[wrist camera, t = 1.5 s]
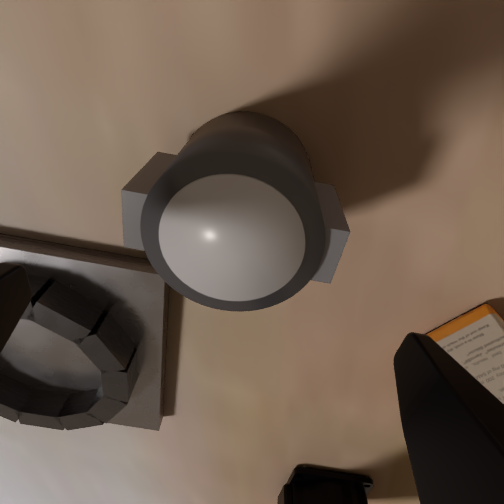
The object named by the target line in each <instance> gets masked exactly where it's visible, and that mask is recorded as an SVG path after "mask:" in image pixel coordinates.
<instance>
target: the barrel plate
mask: <svg viewBox="0 0 504 504" xmlns="http://www.w3.org/2000/svg"><path fill="white" fill-rule="evenodd" d="M2 262H9V263H14V264H20V265H23V266H24V267H25V268H26V271H27V274H28V279H29V283H30V287H31V291H32V297H31V301H30V303H29V305H28V307H27V308H26V310H25V312H24V314H23V315H22V317H21V319H20V321H19V322H18V324H17V326H16V328H15V329H14V331H13V333H12V335H11V336H10V338H9V340H8V342H7V343H6V345H5V347H4V348H3V350H2V352H1V354H0V416H2V417H4V418H6V419H9V420H11V421H14V422H16V421H17V420H18V419H19V422H20V424H26V425H33V426H39V427H46V428H52V429H59V430H64V428H66V429H67V430H72V429H79V428H85V427H91V426H97V425H103V424H104V422H105V423H112V424H119V425H125V426H132V427H138V428H144V429H151V430H157V431H159V429H160V425H161V422H162V419H163V404H164V383H165V362H166V342H167V321H168V300H169V285H168V284H167V283H166V282H165V281H164V280H163V279H162V278H161V277H160V276H159V275H158V273H157V272H156V270H155V269H154V268H153V266H152V265H151V263H150V261H149V260H147V259H142V258H136V257H130V256H124V255H119V254H113V253H107V252H102V251H96V250H90V249H85V248H79V247H73V246H68V245H62V244H56V243H51V242H45V241H39V240H34V239H28V238H22V237H17V236H11V235H5V234H0V263H2Z"/></svg>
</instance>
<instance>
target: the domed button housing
mask: <svg viewBox="0 0 504 504" xmlns="http://www.w3.org/2000/svg"><path fill="white" fill-rule="evenodd" d="M121 193H122V215H123V237H124V247H127V248H133V249H138V250H144V251H145V252H146V255H147V257H148V259H149V261H150V263H151V265H152V266H153V268H154V269H155V270H156V272H157V273H158V275H159V276H160V277H161V278H162V279H163V280H164V281H165V282H166V283H167V284H168V285H169V286H170V287H172V288H173V289H174V290H176V291H177V292H178V293H180V294H181V295H183V296H185V297H186V298H188V299H190V300H192V301H194V302H197V303H199V304H201V305H204V306H208V307H211V308H215V309H220V310H227V311H253V310H259V309H264V308H267V307H271V306H274V305H276V304H278V303H281V302H283V301H285V300H287V299H288V298H290V297H292V296H293V295H295V294H296V293H297V292H299V291H300V290H301V289H302V288H303V287H304V286H305V285H306V284H307V283H308V282H309V281H310V280H313V281H319V282H324V283H331V281H332V278H333V275H334V273H335V270H336V268H337V265H338V263H339V260H340V257H341V255H342V252H343V250H344V247H345V244H346V242H347V239H348V237H349V234H350V230H349V227H348V224H347V221H346V218H345V215H344V213H343V210H342V207H341V204H340V201H339V198H338V195H337V193H336V190H335V187H334V185H331V184H326V183H320V182H315V181H314V177H313V173H312V169H311V165H310V160H309V158H308V155H307V152H306V150H305V148H304V146H303V144H302V143H301V141H300V140H299V139H298V137H297V136H296V135H295V134H294V133H293V132H292V131H291V130H290V129H289V128H288V127H286V126H285V125H284V124H282V123H281V122H279V121H277V120H276V119H274V118H271V117H269V116H267V115H263V114H259V113H254V112H233V113H227V114H224V115H221V116H218V117H216V118H214V119H212V120H210V121H208V122H207V123H205V124H204V125H203V126H201V127H200V128H199V129H198V130H197V131H196V132H195V133H194V135H193V136H192V137H191V138H190V139H189V141H188V142H187V143H186V145H185V146H184V147H183V148H182V150H181V151H180V152H179V153H178V155H173V154H167V153H162V152H157V153H156V154H155V155H154V156H153V157H152V158H151V159H150V160H149V162H148V163H147V164H146V165H145V166H144V167H143V168H142V169H141V170H140V171H139V172H138V173H137V174H136V175H135V176H134V177H133V178H132V179H131V180H130V181H129V182H128V183H127V184H126V186H125V187H124V188H123V189H122V190H121Z"/></svg>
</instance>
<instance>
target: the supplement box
mask: <svg viewBox="0 0 504 504" xmlns="http://www.w3.org/2000/svg"><path fill="white" fill-rule="evenodd" d="M426 335H428V336H429V337H431V338H432V339H433V340H434V341H435V342H436V343H437V344H438V345H439V346H441V347H442V348H443V349H444V350H445V351H446V352H447V353H448V354H449V355H450V356H452V357H453V358H454V359H455V360H456V361H457V362H458V363H459V364H460V365H461V366H462V367H464V368H465V369H466V370H467V371H468V372H469V373H470V374H471V375H472V376H473V377H474V378H476V379H477V380H478V381H479V382H480V383H481V384H482V385H483V386H484V387H485V388H487V389H488V390H489V391H490V392H491V393H492V394H493V395H494V396H495V397H496V398H497V399H499V400H500V401H501V402H502V403H503V404H504V320H503V319H502V318H501V317H500V316H499V315H498V313H497V312H496V311H495V310H494V309H493V308H492V307H491V306H490V305H488V304H484V305H482V306H480V307H478V308H476V309H474V310H472V311H469V312H468V313H466V314H464V315H461V316H459V317H458V318H456V319H454V320H452V321H450V322H449V323H447V324H444V325H442V326H441V327H439V328H437V329H435V330H434V331H432V332H430V333H428V334H426Z"/></svg>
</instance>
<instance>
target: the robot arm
mask: <svg viewBox="0 0 504 504" xmlns="http://www.w3.org/2000/svg"><path fill="white" fill-rule="evenodd" d="M31 297H32V291H31V287H30V283H29V279H28V274H27V271H26V268H25V267H24V266H23V265H20V264H14V263H9V262H2V263H0V354H1V352H2V350H3V348H4V347H5V345H6V343H7V342H8V340H9V338H10V336H11V335H12V333H13V331H14V329H15V328H16V326H17V324H18V322H19V321H20V319H21V317H22V315H23V314H24V312H25V310H26V308H27V307H28V305H29V303H30V301H31ZM394 371H395V378H396V386H397V393H398V401H399V409H400V416H401V422H402V428H403V432H404V437H405V441H406V445H407V450H408V454H409V458H410V462H411V466H412V470H413V475H414V479H415V483H416V487H417V491H418V495H419V500H420V504H504V404H503V403H502V402H501V401H500V400H499V399H497V398H496V397H495V396H494V395H493V394H492V393H491V392H490V391H489V390H488V389H487V388H485V387H484V386H483V385H482V384H481V383H480V382H479V381H478V380H477V379H476V378H474V377H473V376H472V375H471V374H470V373H469V372H468V371H467V370H466V369H465V368H464V367H462V366H461V365H460V364H459V363H458V362H457V361H456V360H455V359H454V358H453V357H452V356H450V355H449V354H448V353H447V352H446V351H445V350H444V349H443V348H442V347H441V346H439V345H438V344H437V343H436V342H435V341H434V340H433V339H432V338H431V337H429V336H428V335H425V334H420V333H414V332H411V333H409V334H407V336H406V337H405V339H404V340H403V342H402V344H401V345H400V347H399V349H398V350H397V352H396V354H395V356H394ZM373 486H374V485H373V480H372V479H371V478H367V477H360V476H354V475H347V474H341V473H334V472H328V471H321V470H315V469H308V468H302V467H298V468H295V469H294V470H293V472H292V474H291V476H290V478H289V480H288V482H287V483H286V484H285V485H284V486H283V488H282V490H281V492H280V494H279V496H278V504H368V502H367V496H366V495H367V494H368V493H369V491H370V490H371V489H372V488H373Z"/></svg>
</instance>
